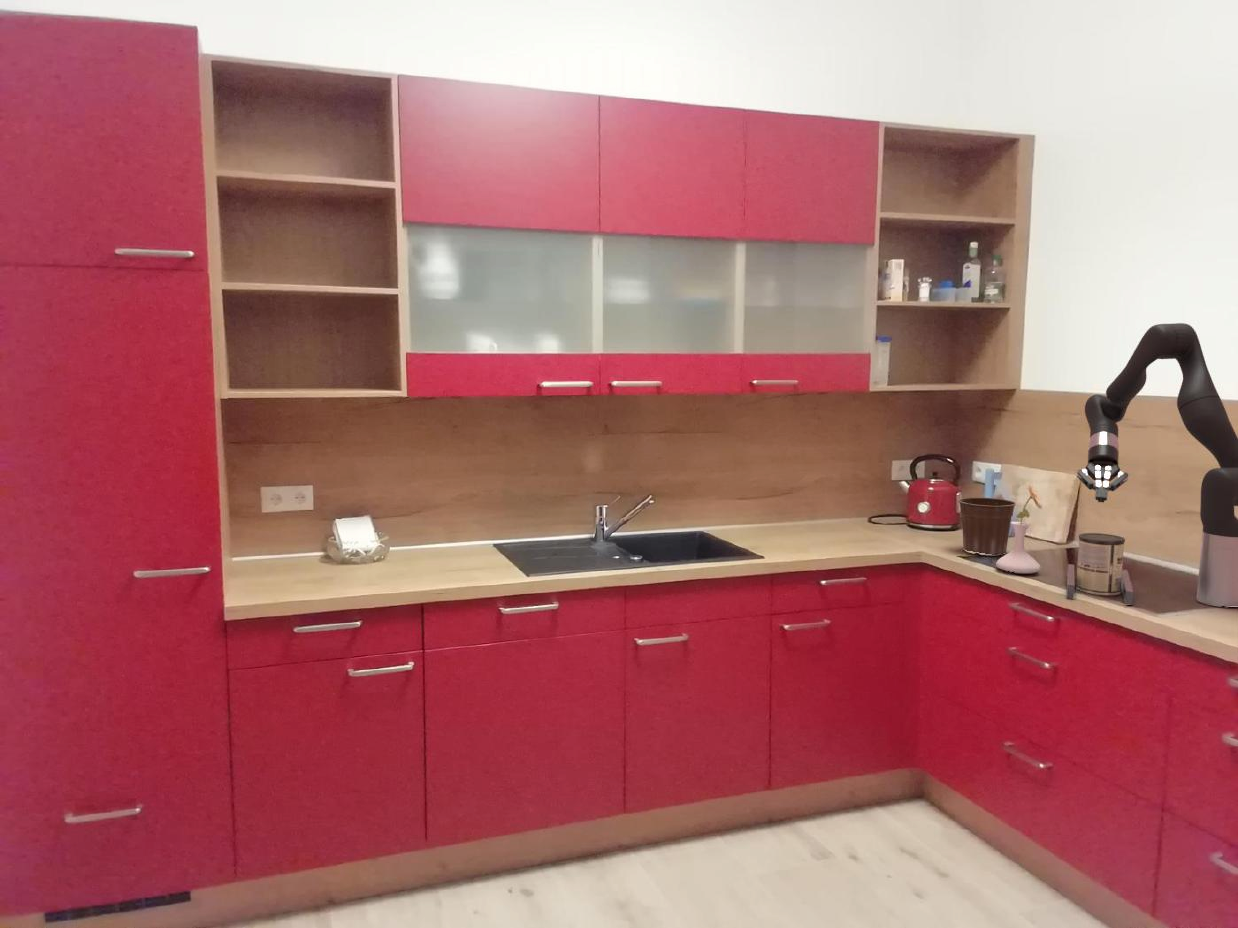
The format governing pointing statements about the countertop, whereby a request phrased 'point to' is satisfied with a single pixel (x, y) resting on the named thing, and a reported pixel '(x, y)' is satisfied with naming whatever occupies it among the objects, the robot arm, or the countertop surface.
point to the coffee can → (1100, 564)
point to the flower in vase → (1021, 543)
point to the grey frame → (1125, 585)
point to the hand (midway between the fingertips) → (1101, 500)
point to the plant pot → (986, 524)
